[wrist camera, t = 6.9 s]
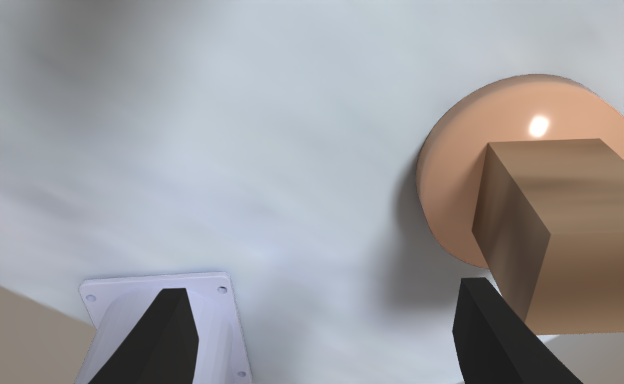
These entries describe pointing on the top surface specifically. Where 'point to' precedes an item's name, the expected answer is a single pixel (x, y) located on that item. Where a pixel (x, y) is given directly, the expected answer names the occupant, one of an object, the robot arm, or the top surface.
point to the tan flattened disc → (500, 128)
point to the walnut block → (555, 232)
